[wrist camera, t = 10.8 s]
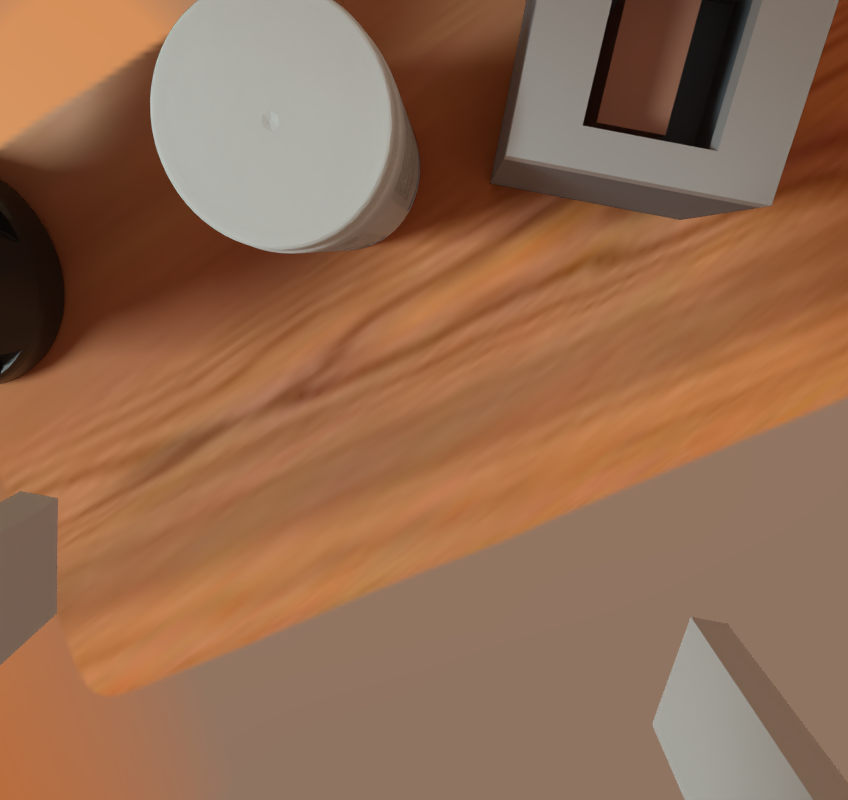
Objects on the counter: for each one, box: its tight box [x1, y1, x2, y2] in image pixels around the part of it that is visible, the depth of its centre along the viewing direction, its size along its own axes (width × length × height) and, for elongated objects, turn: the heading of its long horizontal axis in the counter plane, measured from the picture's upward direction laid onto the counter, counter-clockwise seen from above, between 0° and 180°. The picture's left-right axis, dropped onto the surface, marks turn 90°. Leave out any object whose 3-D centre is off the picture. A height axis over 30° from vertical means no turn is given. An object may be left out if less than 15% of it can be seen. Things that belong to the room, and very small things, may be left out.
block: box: [583, 0, 702, 140], centre depth 29 cm, size 6×4×5 cm, turn 170°
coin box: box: [490, 0, 839, 220], centre depth 28 cm, size 12×12×10 cm
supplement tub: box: [150, 0, 420, 253], centre depth 27 cm, size 10×10×15 cm
